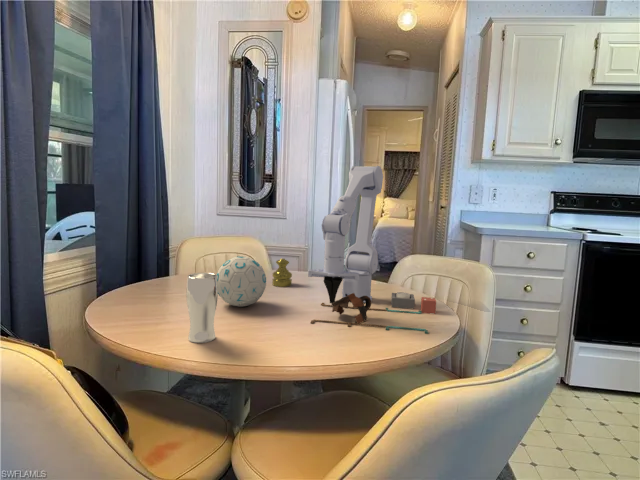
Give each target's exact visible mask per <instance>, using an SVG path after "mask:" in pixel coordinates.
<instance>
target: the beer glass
mask: <svg viewBox="0 0 640 480" xmlns="http://www.w3.org/2000/svg"><path fill="white" fill-rule="evenodd" d="M186 280H187V281H186V294H185V296H186V305H187V310H188V316H189V323H190V324H189V333H188V341H189V342H191V343H194V344H203V343H204V344H205V343H210V342H212V341H214V340H215V339H216V333H215V332H216V331H215V324H214V323H215V315H216V310H217V306H218V305H217V304H218V299H219V298H218V296H219V294H218V285H217V273H216V274H215V273H213V272H197V273H196V272H194V273H190V274H188V275H187V279H186Z"/></svg>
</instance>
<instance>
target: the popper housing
mask: <svg viewBox="0 0 640 480" xmlns="http://www.w3.org/2000/svg"><path fill="white" fill-rule="evenodd" d="M396 293H397V292H391V300H390V303H391V305H392V306H391V308H395V307H399V308H400V309H408V308H413V309H412V310H415V303H416V299H415V296H414V294H413V293H409V294H410V298H397V297H396ZM399 308H398V309H399Z"/></svg>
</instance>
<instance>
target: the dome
mask: <svg viewBox="0 0 640 480" xmlns="http://www.w3.org/2000/svg"><path fill="white" fill-rule="evenodd" d="M395 293H396V297H397V298H410V294H411V293H409V292H403V291H402V292H395Z"/></svg>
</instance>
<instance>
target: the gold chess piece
mask: <svg viewBox="0 0 640 480" xmlns="http://www.w3.org/2000/svg"><path fill="white" fill-rule="evenodd" d="M275 264H276V265H278V268H276V270H275V271H273V272H272V274H271V275H272V277H273V278H272V280H271V281H272V286H274V287H277V286H278V287H277V288H279V287H280V288H287V286H288V287H291V286H292V283H293V281H292V280H293V279H292V276H293V273H292V272H291V271H289V269H288V268H287V266H288V265H289V264H290V261H289V260H287V259H286V258H280V259H277V260H276V261H275Z"/></svg>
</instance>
